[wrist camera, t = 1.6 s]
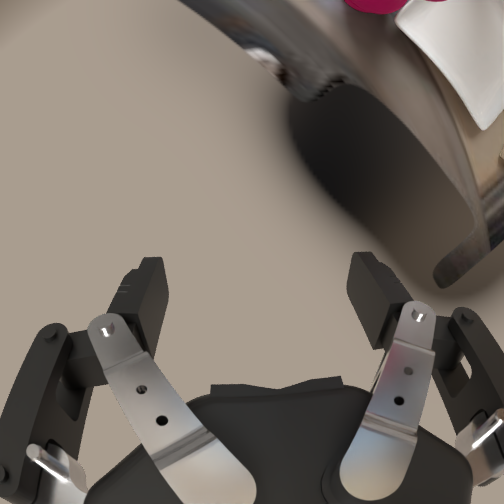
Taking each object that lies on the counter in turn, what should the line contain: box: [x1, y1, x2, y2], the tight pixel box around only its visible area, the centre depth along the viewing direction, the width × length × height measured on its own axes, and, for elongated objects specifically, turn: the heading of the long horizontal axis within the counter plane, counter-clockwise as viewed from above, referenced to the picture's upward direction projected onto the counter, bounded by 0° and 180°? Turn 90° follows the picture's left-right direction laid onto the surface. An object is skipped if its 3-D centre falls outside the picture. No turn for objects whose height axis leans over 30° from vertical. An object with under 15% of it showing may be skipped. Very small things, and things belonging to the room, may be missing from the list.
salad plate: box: [394, 0, 504, 131], centre depth 21 cm, size 21×21×3 cm
